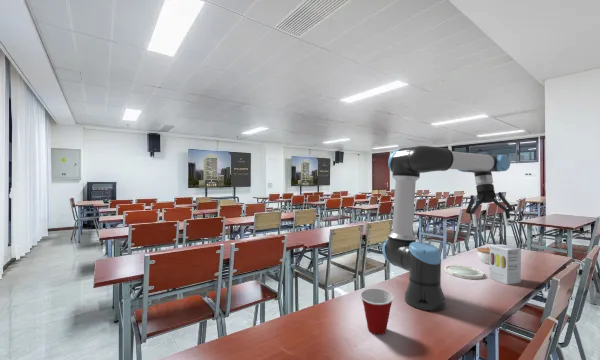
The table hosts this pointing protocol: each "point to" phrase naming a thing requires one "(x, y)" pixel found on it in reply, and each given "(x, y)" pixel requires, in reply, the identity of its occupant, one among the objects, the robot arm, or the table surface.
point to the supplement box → (505, 264)
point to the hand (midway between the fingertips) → (490, 226)
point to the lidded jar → (484, 254)
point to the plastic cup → (377, 308)
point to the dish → (463, 271)
